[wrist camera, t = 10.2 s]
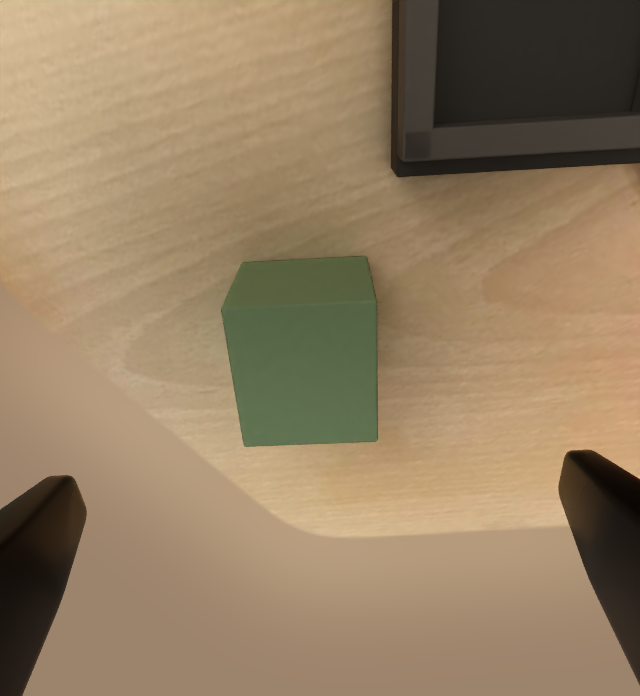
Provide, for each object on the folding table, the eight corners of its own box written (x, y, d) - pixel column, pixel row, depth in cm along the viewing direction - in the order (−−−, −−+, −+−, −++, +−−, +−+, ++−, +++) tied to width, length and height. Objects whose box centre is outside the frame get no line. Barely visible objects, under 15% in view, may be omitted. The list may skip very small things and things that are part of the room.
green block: (257, 382, 20) (243, 447, 17) (241, 261, 18) (220, 308, 14) (368, 377, 20) (377, 442, 16) (366, 254, 17) (377, 300, 14)
